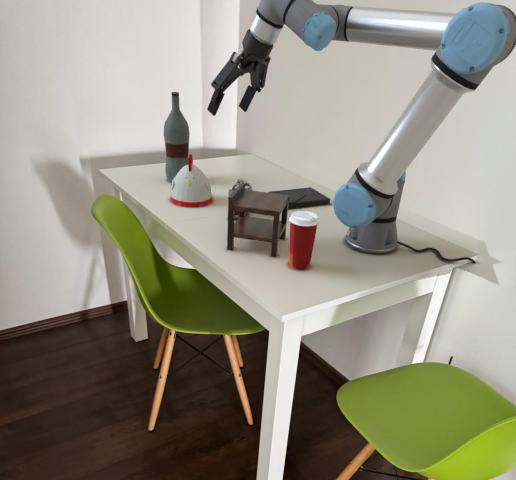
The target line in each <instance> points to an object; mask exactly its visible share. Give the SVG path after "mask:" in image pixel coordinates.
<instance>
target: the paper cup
mask: <svg viewBox="0 0 516 480" xmlns="http://www.w3.org/2000/svg"><path fill="white" fill-rule="evenodd" d="M288 221H289V241H288V242H289V244H288V245H289V247H288V267H289V268H290V269H293V270H295V271H306V270H308V269H309V268H310V266H311V261H312V256H313V250H314V247H315V241H316V235H317V229H318V225H319V223H320V220H319V216H318V214H316V213H315V212H312V211H307V210H298V211H294V212H292V213H291V215H290V216H289V218H288Z"/></svg>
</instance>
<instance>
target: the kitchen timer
mask: <svg viewBox="0 0 516 480" xmlns="http://www.w3.org/2000/svg"><path fill="white" fill-rule="evenodd" d="M188 157H189V158H188V159H189V163H188V165H186V166H184V167H183V168H182V169H181V170H180V171H179V172H178V173H177V175H176V177H174V179H173V180H172V183H171V186H170V202H171V203H172V204H174V205H176V206H179V207H185V208H200V207H205V206H208V205H210V204H211V203H212V201H213V199H212V198H213V194H212V186H211V181H210V179H209V178H208V177H207V176H206V175H205V173H204V171H203V170H202V169H201V168H199V166H197V165H195V164H194V159H193V154H190V153H188Z"/></svg>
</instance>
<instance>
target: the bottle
mask: <svg viewBox="0 0 516 480" xmlns="http://www.w3.org/2000/svg"><path fill="white" fill-rule="evenodd" d="M170 94H171V109H170V112H169V114H168V116H167V118H166V120H165V121H164V125H163V140H164V146H165V148H164V149H165V156H166V157H165V166H164V167H165V170H164V171H165V176H166V180H167V181H168V182H169V183H171V184H172V180H173V179H174V177H176V175H177V173H178V172H179V171H180V170H181V169H182V168H183V167H184V166H186V165H188V163H189V159H188V158H189V152H190V151H189V150H190V149H189V148H190V127H189V123H188V121H187V119H186V118H185V116H184V114H183V112H182V111H181V109H180V108H181V107H180V92H179V91H171V92H170Z"/></svg>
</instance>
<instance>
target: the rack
mask: <svg viewBox="0 0 516 480" xmlns="http://www.w3.org/2000/svg"><path fill="white" fill-rule="evenodd" d="M288 204H289V195H282V194H275V193H268V192H266V191H259V190H253V189H252V190H245V183H244V182H242V183H241V184H240V185H239V186H238V187H237V188H236V189H235V190H234V192H233V193H232V194H231V195H230V196H228V198H227V234H226V235H227V239H226V240H227V242H226V243H227V244H226V248H227V249H226V250H227V251H233V250H234V249H235V248H234V247H235V239H236V238H237V239H242V240H249V241H255V242H263V243H269V244H270V245H271V247H270V257H272V258H277V255H278V248H279V247H278V245H279V241H281V240H282V241H285V239H286V235H287V224H288V214H289V213H288V212H289V209H288ZM235 211H239V212H240V215H239V218H238V220H234V219H235ZM246 213H248V214H255V215H262V216H268V217H273V219H271V218H263V217H257V216H251V215H250V216H249V215H248V216H246Z"/></svg>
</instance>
